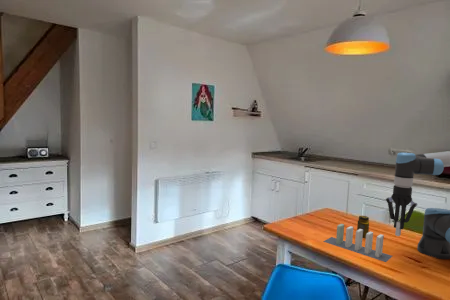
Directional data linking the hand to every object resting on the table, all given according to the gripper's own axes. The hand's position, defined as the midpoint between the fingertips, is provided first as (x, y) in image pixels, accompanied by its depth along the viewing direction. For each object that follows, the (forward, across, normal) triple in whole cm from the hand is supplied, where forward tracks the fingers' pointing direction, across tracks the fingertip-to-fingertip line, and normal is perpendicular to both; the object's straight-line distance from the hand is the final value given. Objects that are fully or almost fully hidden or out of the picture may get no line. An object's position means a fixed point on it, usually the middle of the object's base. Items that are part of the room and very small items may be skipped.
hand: (397, 235), depth 145 cm
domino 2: (+13, +23, 0) cm, 26 cm away
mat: (+13, +19, 0) cm, 23 cm away
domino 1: (+13, +28, 0) cm, 31 cm away
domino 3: (+13, +18, 0) cm, 22 cm away
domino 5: (+13, +8, 0) cm, 15 cm away
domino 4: (+13, +13, 0) cm, 18 cm away
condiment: (+14, +24, -19) cm, 33 cm away
